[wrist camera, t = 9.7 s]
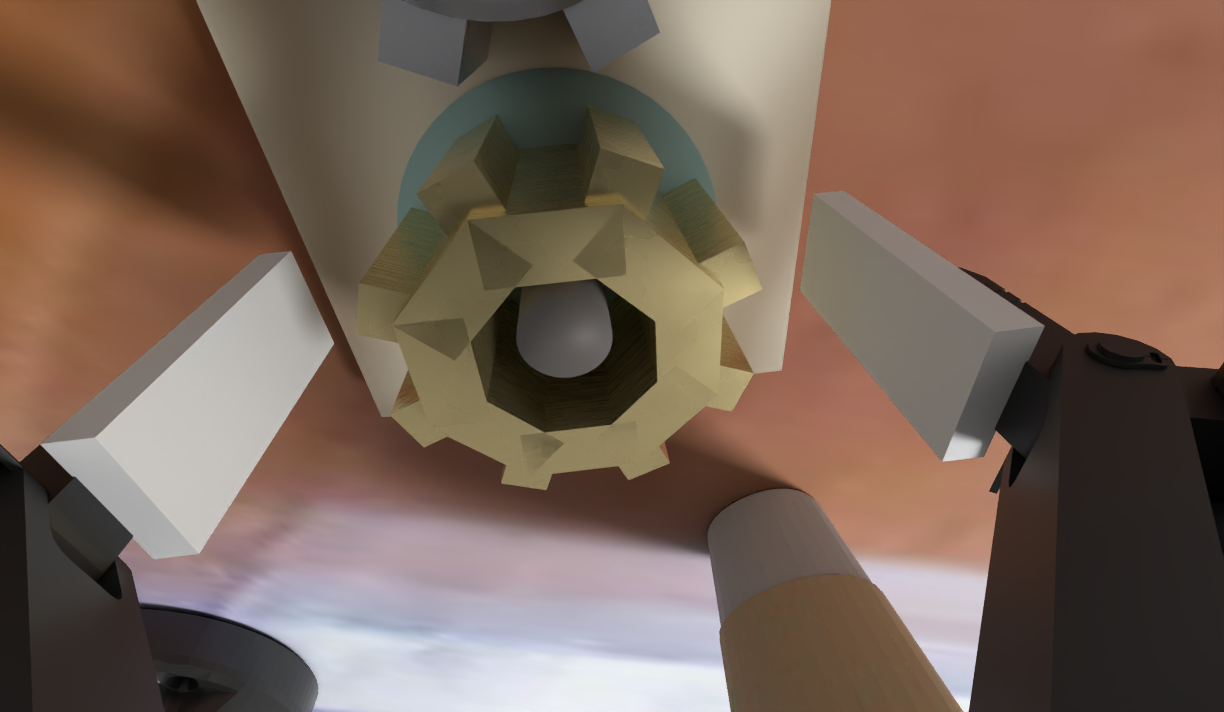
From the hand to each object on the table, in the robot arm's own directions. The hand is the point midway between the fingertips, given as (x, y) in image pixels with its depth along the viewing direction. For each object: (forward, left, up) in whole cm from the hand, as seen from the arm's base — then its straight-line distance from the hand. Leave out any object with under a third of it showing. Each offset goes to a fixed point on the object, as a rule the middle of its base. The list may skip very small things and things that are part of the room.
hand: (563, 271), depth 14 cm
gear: (0, 0, -2) cm, 2 cm away
